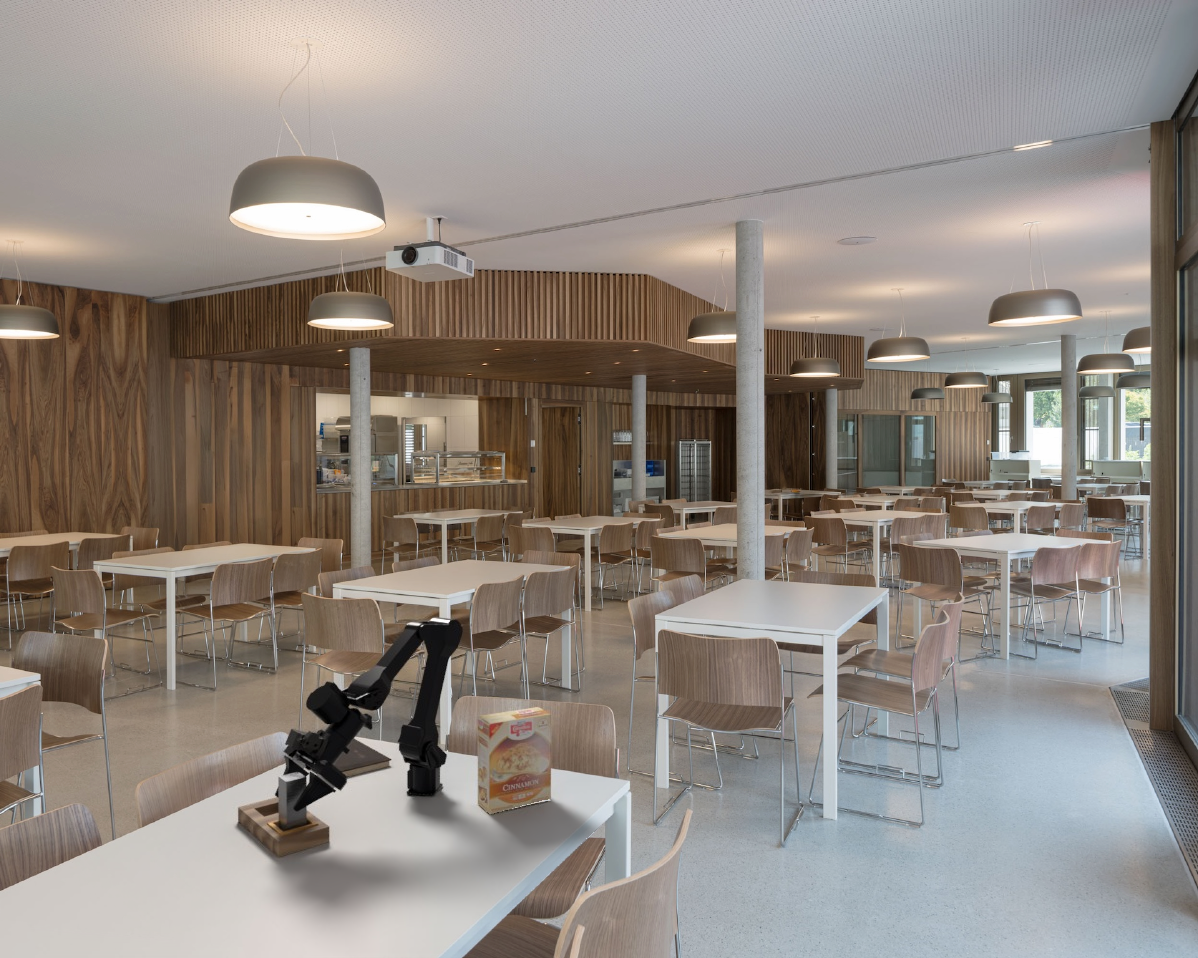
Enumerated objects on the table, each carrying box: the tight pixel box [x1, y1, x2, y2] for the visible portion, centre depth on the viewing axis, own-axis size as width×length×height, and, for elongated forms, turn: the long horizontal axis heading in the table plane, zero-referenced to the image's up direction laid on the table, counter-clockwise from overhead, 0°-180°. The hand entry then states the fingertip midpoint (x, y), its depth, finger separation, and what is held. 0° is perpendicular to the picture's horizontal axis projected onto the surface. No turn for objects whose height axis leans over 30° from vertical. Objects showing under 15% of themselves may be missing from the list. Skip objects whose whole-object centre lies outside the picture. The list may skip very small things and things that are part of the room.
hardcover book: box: [311, 738, 392, 777], centre depth 211 cm, size 16×23×2 cm
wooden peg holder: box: [237, 796, 330, 858], centre depth 170 cm, size 22×10×3 cm, turn 42°
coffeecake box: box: [477, 706, 552, 815], centre depth 184 cm, size 15×7×20 cm, turn 120°
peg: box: [277, 772, 308, 832], centre depth 166 cm, size 4×4×12 cm
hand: (285, 803), depth 165 cm, fingers open, 9 cm apart
